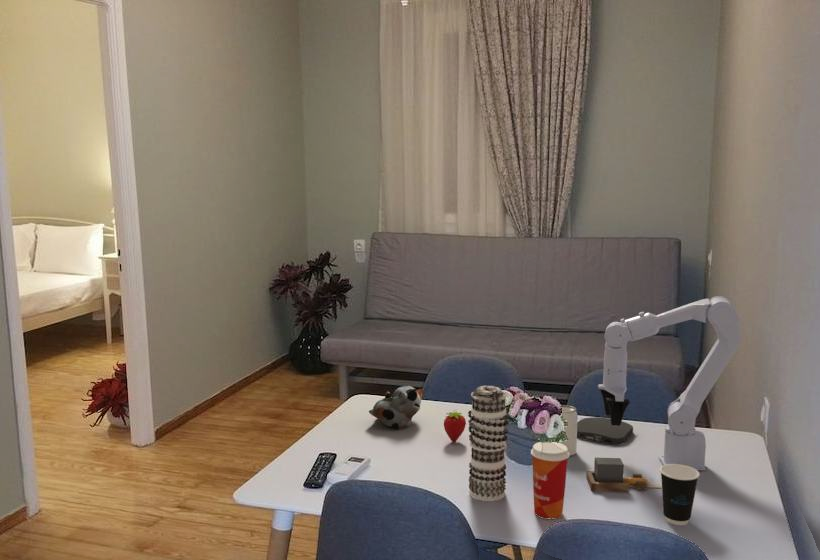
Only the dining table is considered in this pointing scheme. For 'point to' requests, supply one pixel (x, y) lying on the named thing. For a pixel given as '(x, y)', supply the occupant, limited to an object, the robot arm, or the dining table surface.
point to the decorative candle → (487, 443)
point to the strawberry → (454, 425)
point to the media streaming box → (603, 431)
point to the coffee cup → (549, 478)
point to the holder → (617, 484)
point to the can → (570, 428)
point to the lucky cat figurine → (398, 407)
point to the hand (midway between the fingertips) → (612, 420)
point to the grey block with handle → (612, 471)
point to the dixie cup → (678, 492)
